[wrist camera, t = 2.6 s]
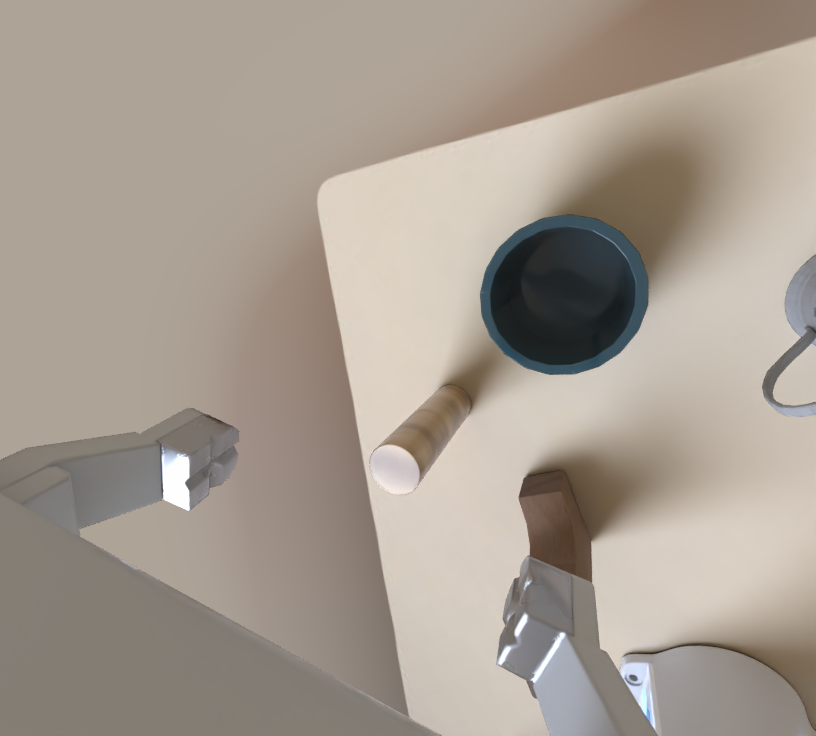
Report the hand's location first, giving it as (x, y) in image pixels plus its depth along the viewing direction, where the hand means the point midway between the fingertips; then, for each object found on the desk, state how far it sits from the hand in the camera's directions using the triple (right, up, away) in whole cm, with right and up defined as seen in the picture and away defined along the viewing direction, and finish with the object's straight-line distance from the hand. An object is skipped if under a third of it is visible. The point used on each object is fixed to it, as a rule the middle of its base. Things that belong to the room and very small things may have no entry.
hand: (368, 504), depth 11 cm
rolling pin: (+6, 0, +36) cm, 37 cm away
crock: (+16, +11, +29) cm, 35 cm away
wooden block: (+17, -12, +35) cm, 41 cm away
